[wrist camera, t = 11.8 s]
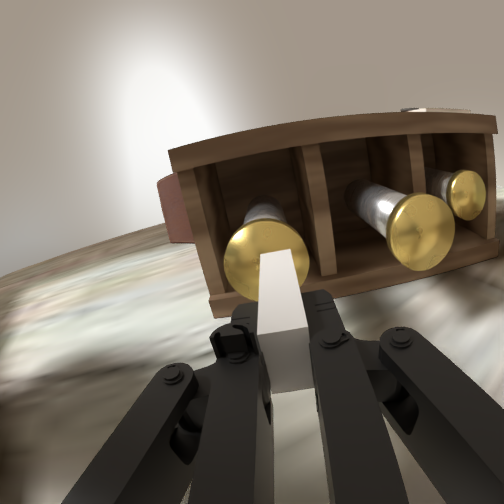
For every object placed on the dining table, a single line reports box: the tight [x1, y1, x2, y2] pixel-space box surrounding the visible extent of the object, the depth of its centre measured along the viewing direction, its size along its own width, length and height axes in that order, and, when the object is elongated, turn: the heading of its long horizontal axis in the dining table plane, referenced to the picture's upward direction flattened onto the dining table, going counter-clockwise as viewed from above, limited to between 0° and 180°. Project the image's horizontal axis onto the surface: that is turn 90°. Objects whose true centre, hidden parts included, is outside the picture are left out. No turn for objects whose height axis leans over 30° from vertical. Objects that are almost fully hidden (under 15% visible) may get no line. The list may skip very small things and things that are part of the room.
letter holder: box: [157, 172, 195, 243], centre depth 53 cm, size 10×20×14 cm, turn 56°
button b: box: [344, 179, 455, 271], centre depth 21 cm, size 13×5×5 cm, turn 178°
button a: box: [424, 167, 486, 220], centre depth 27 cm, size 13×5×5 cm, turn 178°
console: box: [168, 108, 499, 318], centre depth 29 cm, size 14×33×17 cm, turn 88°
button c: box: [224, 195, 309, 301], centre depth 22 cm, size 13×5×5 cm, turn 178°
